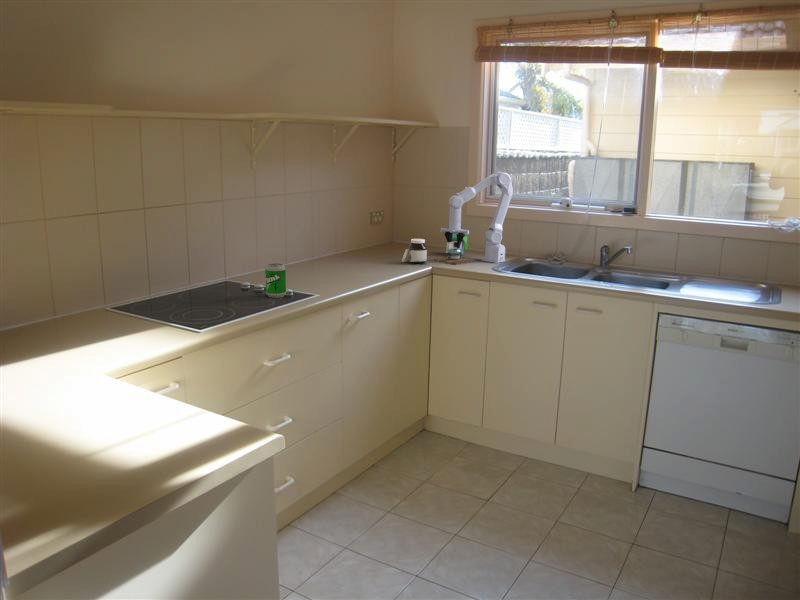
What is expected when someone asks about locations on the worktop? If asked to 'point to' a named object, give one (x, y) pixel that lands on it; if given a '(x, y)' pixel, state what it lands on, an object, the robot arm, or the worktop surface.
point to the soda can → (275, 280)
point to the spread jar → (416, 252)
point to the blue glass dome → (453, 248)
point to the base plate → (462, 260)
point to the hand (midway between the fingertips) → (454, 247)
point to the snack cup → (464, 243)
